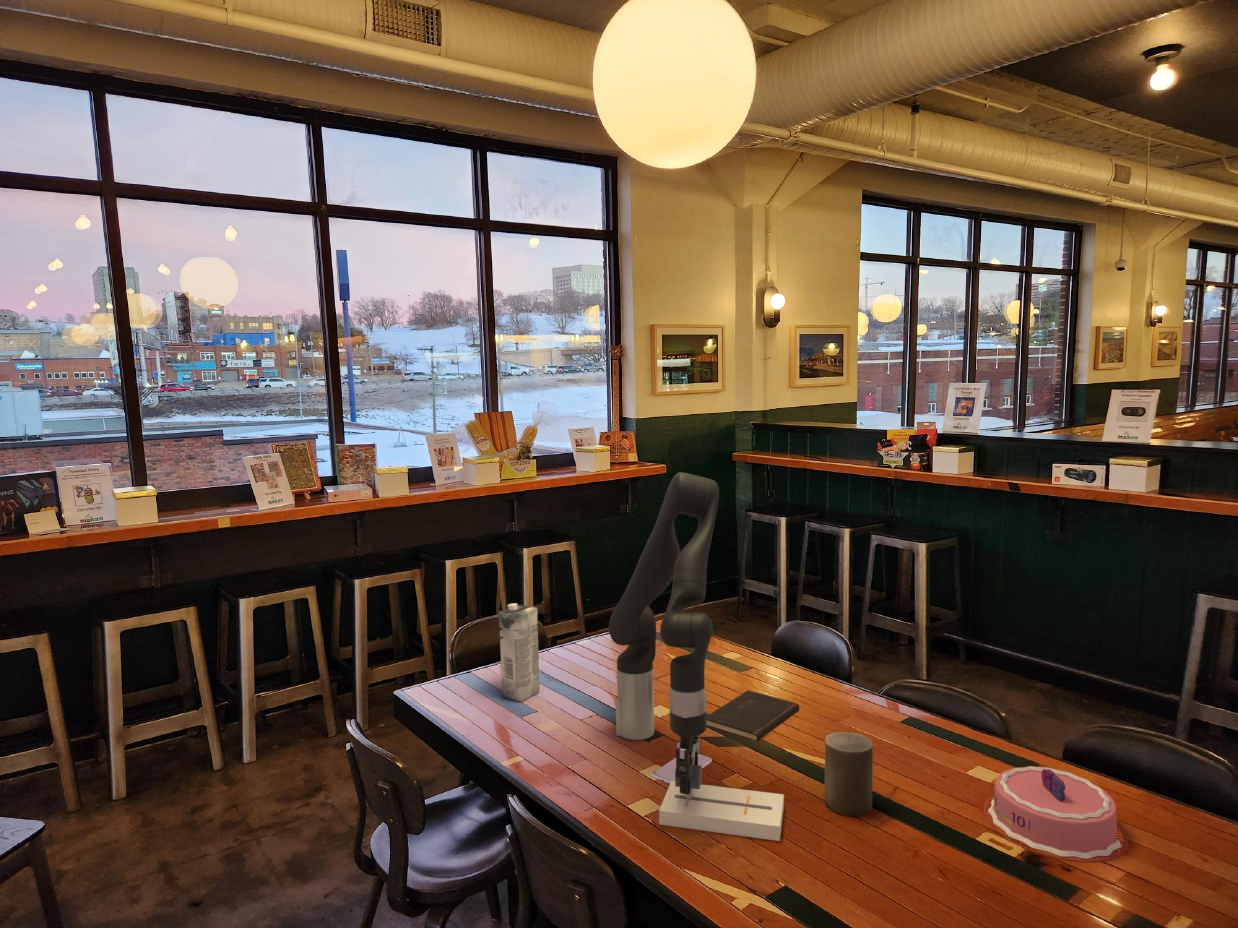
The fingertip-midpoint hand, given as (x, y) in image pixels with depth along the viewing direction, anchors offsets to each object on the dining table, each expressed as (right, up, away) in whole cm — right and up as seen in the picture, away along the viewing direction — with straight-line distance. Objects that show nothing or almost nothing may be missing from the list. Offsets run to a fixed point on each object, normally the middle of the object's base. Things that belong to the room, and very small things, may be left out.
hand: (689, 782), depth 157 cm
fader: (0, -3, 0) cm, 3 cm away
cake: (+72, -6, -7) cm, 72 cm away
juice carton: (-43, -2, +64) cm, 77 cm away
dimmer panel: (+7, -6, -1) cm, 9 cm away
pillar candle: (+34, -6, +2) cm, 34 cm away
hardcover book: (+21, -2, +45) cm, 50 cm away
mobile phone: (0, -5, +19) cm, 20 cm away
